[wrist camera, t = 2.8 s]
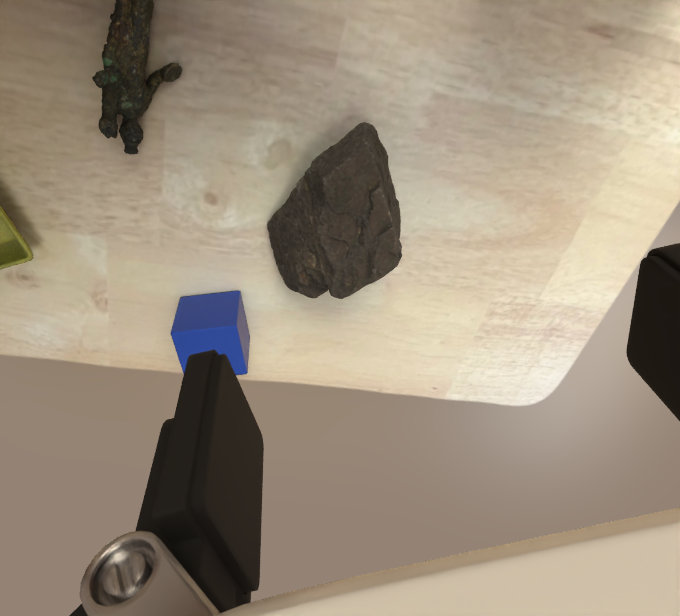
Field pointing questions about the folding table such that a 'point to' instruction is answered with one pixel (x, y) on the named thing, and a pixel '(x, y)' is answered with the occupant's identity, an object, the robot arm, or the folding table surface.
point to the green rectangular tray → (12, 244)
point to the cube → (212, 328)
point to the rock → (339, 220)
